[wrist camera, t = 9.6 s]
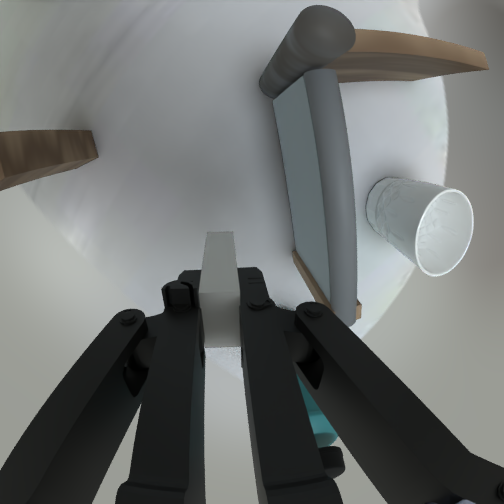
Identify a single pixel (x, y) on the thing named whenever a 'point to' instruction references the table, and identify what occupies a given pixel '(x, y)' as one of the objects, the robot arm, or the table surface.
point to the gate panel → (320, 189)
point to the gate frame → (268, 82)
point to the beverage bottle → (323, 436)
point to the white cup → (422, 222)
